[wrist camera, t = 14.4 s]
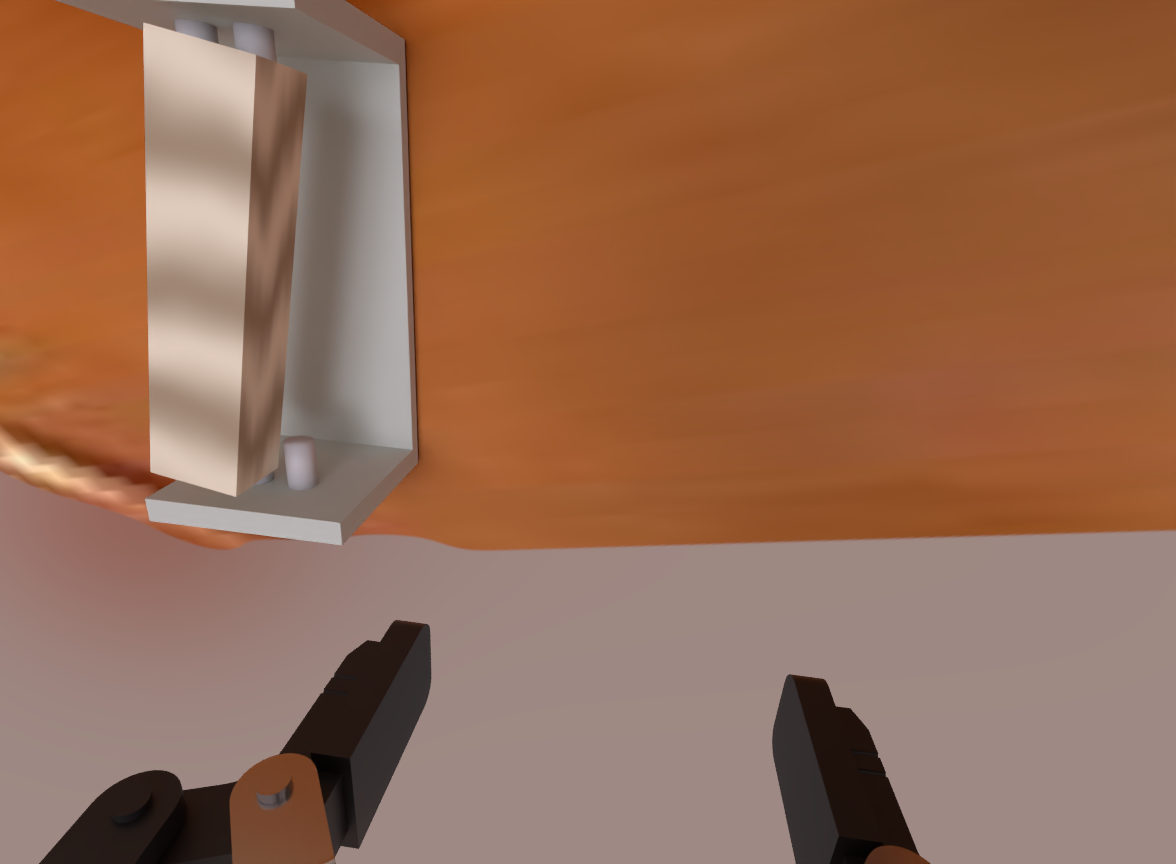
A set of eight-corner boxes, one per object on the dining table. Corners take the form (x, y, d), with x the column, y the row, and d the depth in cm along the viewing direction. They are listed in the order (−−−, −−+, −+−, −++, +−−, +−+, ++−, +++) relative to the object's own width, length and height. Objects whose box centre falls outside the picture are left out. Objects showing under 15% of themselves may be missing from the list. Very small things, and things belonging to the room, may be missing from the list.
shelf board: (209, 45, 29) (143, 22, 25) (307, 73, 29) (256, 54, 25) (201, 445, 37) (150, 472, 33) (278, 467, 37) (236, 496, 33)
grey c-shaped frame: (216, 27, 37) (24, -50, 26) (404, 39, 36) (291, -35, 25) (270, 445, 47) (149, 520, 36) (418, 462, 46) (342, 545, 35)
